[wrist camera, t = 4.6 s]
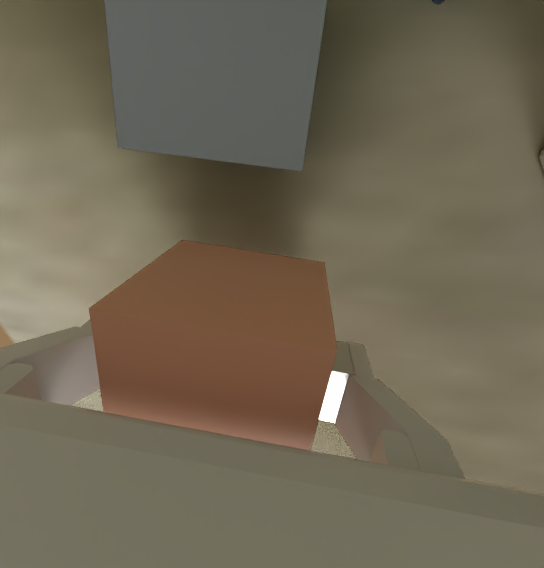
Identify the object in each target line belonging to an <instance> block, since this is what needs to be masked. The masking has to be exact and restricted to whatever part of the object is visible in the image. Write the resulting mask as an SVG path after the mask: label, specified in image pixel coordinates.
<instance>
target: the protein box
mask: <svg viewBox="0 0 544 568" xmlns="http://www.w3.org/2000/svg"><path fill="white" fill-rule="evenodd" d="M443 1H444V0H432V2H434V3H435V4H441V3H442V2H443Z"/></svg>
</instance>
